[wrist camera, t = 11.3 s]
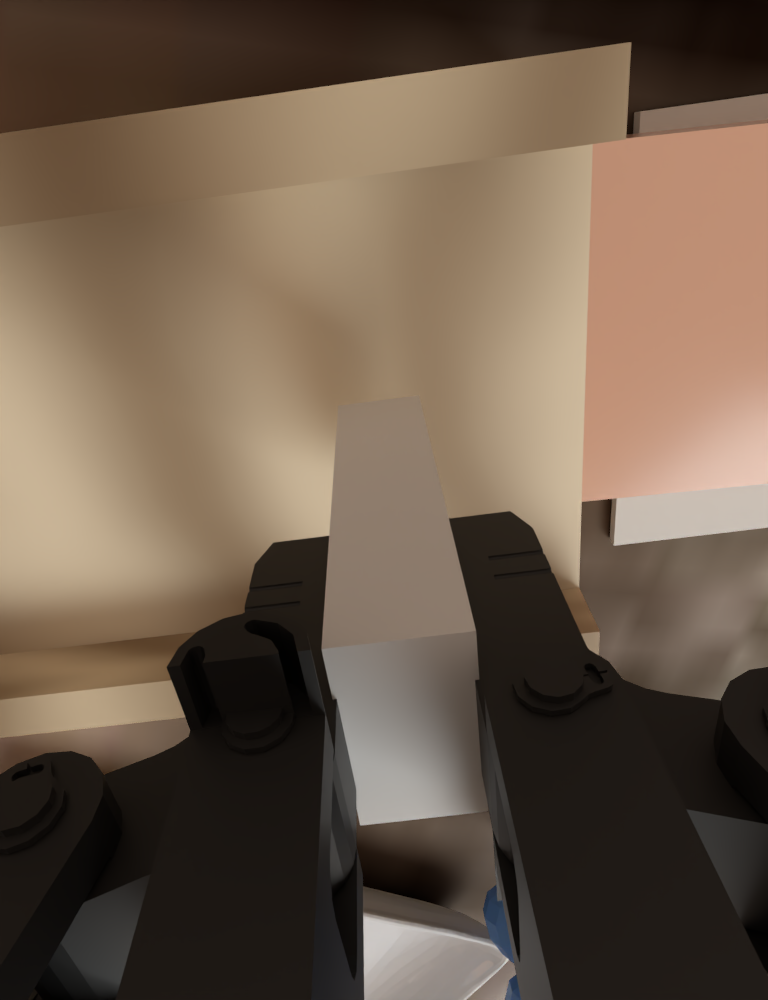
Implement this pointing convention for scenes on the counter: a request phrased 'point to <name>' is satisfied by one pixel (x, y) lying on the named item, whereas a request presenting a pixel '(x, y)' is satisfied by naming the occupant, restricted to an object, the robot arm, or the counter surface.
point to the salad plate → (423, 950)
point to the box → (277, 346)
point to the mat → (700, 507)
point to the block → (677, 313)
